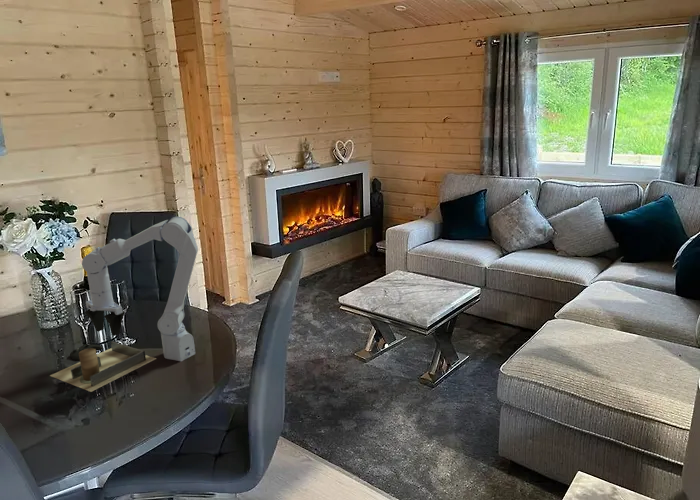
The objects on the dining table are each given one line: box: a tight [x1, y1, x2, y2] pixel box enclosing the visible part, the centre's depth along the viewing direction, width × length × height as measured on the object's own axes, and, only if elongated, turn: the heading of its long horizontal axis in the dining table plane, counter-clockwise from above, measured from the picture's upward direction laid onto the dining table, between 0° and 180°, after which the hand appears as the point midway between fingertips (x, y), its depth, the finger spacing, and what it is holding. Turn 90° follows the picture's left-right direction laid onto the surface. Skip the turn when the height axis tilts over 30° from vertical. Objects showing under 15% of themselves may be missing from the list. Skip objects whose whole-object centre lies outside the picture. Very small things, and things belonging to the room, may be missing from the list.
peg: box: [79, 348, 100, 381], centre depth 149 cm, size 4×4×8 cm
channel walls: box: [71, 341, 146, 387], centre depth 156 cm, size 16×18×3 cm
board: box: [49, 348, 157, 393], centre depth 157 cm, size 20×22×1 cm
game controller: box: [69, 343, 104, 362], centre depth 167 cm, size 10×5×6 cm
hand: (108, 332), depth 159 cm, fingers open, 7 cm apart
